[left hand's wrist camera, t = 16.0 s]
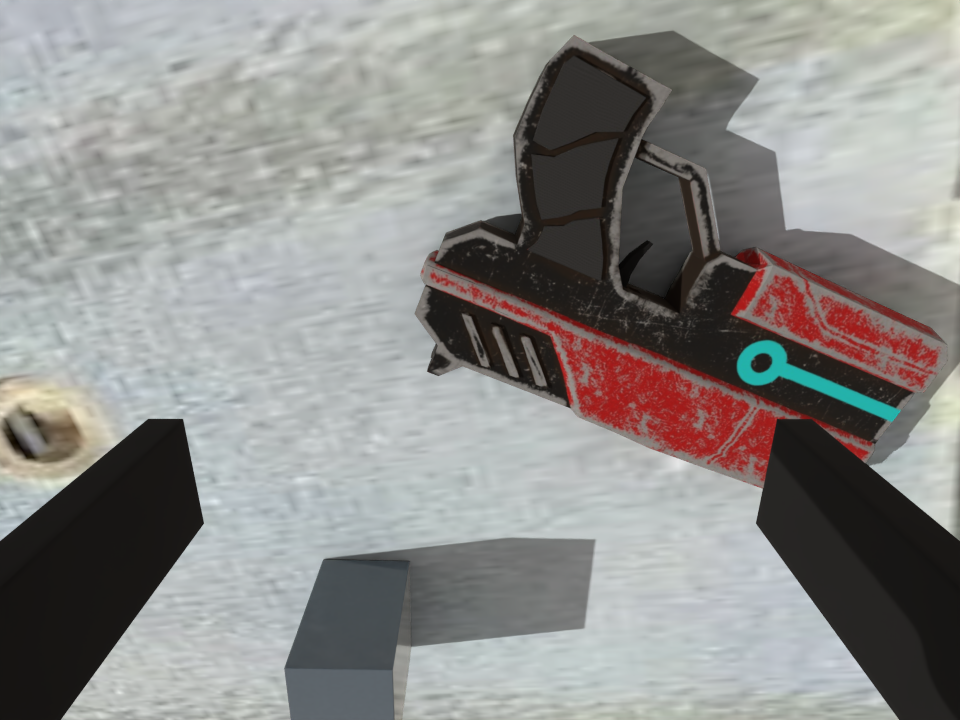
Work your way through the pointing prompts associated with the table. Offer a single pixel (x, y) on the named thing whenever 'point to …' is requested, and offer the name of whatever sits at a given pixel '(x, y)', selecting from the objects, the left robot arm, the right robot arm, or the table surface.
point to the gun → (657, 299)
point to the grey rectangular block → (352, 643)
